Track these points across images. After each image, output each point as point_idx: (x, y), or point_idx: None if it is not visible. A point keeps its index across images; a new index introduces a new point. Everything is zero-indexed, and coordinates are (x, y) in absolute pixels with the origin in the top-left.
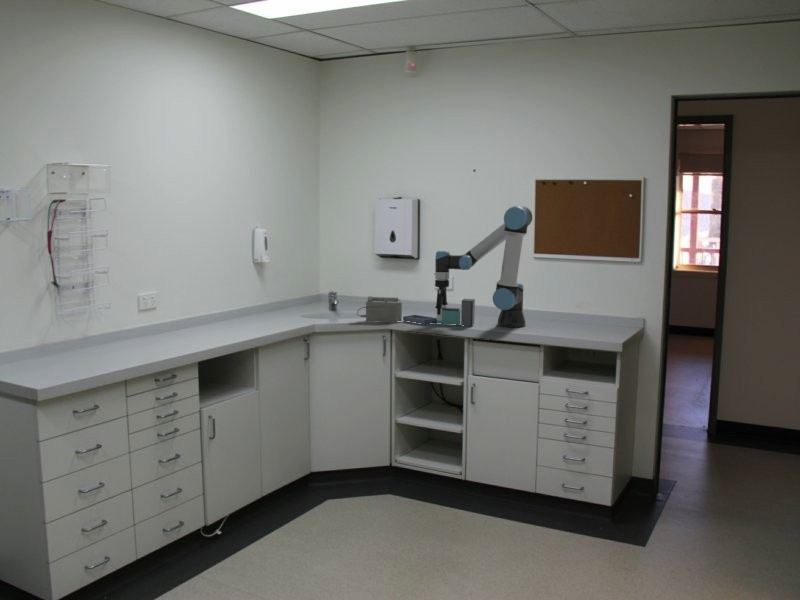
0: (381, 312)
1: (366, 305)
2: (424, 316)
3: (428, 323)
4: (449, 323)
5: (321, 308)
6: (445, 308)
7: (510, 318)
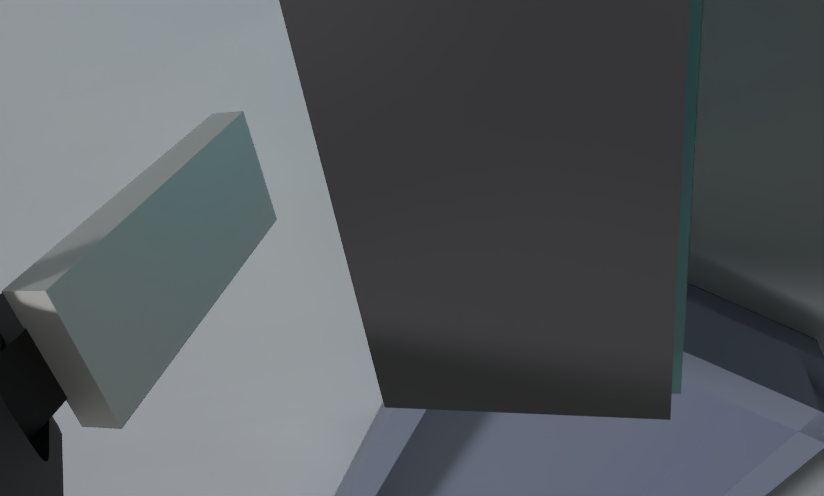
0: None
1: None
2: (387, 475)
3: (741, 321)
4: None
5: None
6: (591, 174)
7: None
